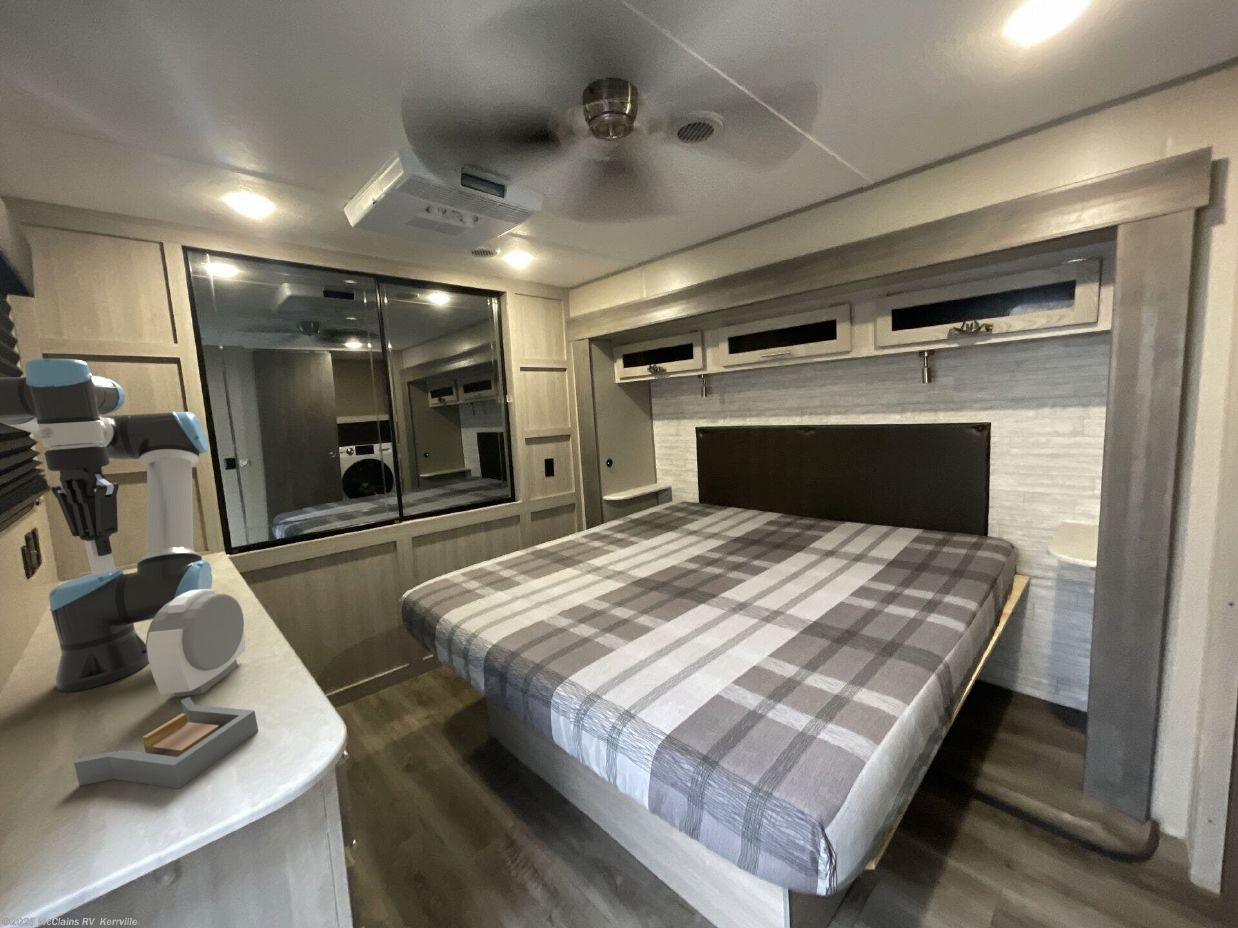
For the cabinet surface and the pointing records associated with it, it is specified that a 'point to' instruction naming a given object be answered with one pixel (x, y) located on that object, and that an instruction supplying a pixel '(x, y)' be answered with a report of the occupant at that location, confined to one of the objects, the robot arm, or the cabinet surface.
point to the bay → (168, 768)
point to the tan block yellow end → (176, 736)
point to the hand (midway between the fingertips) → (103, 571)
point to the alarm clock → (195, 641)
